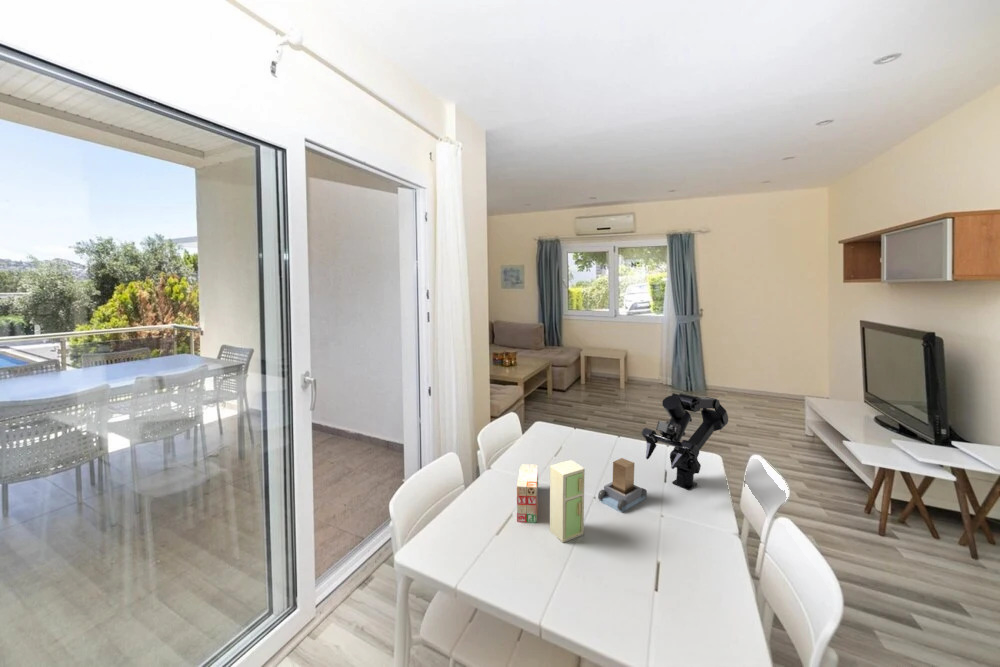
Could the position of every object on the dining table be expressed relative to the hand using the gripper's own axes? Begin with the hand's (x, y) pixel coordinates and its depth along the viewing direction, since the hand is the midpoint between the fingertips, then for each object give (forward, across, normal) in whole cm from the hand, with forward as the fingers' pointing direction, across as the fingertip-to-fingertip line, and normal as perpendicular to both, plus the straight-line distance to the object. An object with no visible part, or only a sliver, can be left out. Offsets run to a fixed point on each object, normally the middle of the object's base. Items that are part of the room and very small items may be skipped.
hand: (659, 463), depth 131 cm
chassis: (+16, -8, +4) cm, 18 cm away
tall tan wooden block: (+15, -8, +2) cm, 17 cm away
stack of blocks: (+35, -26, -16) cm, 47 cm away
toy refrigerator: (+36, -7, -17) cm, 41 cm away
